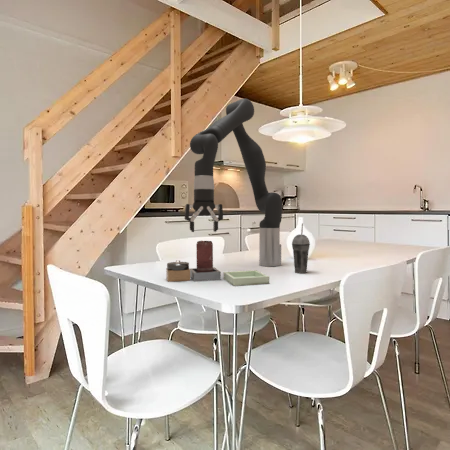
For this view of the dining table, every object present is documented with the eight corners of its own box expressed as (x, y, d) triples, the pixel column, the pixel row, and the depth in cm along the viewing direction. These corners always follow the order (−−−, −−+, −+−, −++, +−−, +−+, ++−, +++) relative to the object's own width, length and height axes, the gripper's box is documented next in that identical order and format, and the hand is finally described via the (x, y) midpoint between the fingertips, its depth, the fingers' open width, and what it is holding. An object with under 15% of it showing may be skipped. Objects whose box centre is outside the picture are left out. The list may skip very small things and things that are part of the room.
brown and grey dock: (214, 274, 141) (214, 257, 141) (220, 279, 132) (220, 260, 131) (165, 277, 136) (165, 259, 136) (168, 282, 127) (168, 263, 126)
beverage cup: (288, 272, 146) (288, 223, 145) (297, 270, 151) (297, 222, 150) (303, 274, 141) (304, 224, 140) (313, 272, 146) (313, 223, 145)
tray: (256, 276, 137) (256, 270, 137) (269, 283, 124) (269, 276, 124) (223, 278, 134) (223, 272, 133) (233, 286, 121) (233, 278, 121)
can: (205, 275, 140) (204, 240, 139) (216, 278, 135) (216, 241, 134) (193, 277, 135) (192, 241, 135) (204, 280, 131) (203, 242, 130)
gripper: (219, 189, 139) (219, 230, 140) (183, 188, 136) (183, 231, 136) (224, 188, 132) (224, 232, 133) (186, 187, 128) (186, 232, 129)
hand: (203, 231), depth 134 cm, fingers open, 8 cm apart
